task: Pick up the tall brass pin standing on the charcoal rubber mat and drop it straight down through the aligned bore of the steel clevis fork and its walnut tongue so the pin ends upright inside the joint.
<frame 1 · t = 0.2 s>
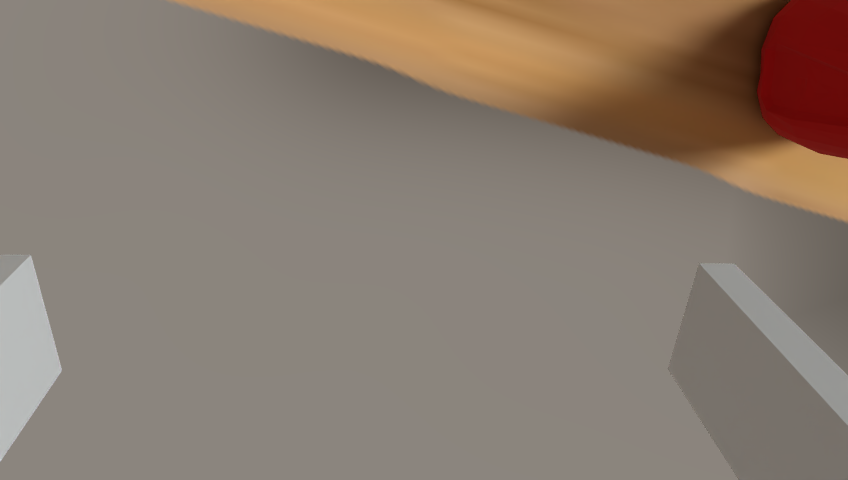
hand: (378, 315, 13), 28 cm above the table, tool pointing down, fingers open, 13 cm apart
water bottle: (835, 54, 40), on the table
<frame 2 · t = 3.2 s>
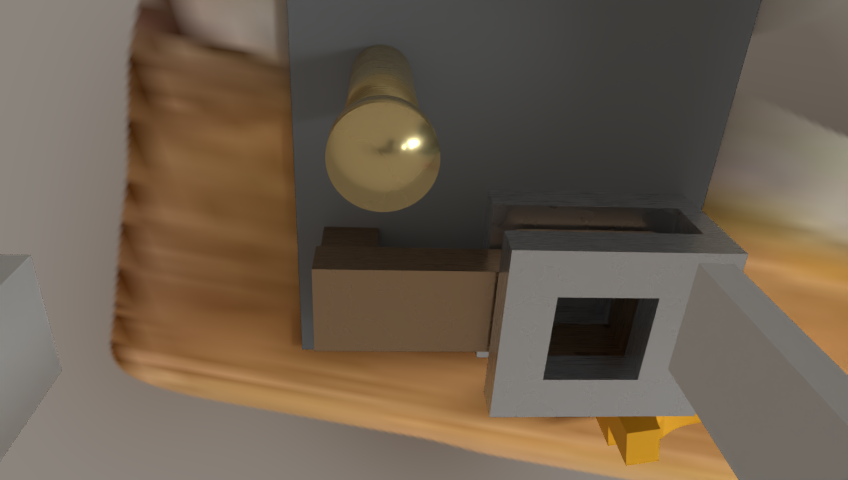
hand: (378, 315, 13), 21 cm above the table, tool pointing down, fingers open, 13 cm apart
pipe clamp: (679, 372, 43), on the table
brass pin: (381, 75, 31), resting on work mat
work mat: (504, 186, 35), on the table
clevis: (562, 269, 37), resting on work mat
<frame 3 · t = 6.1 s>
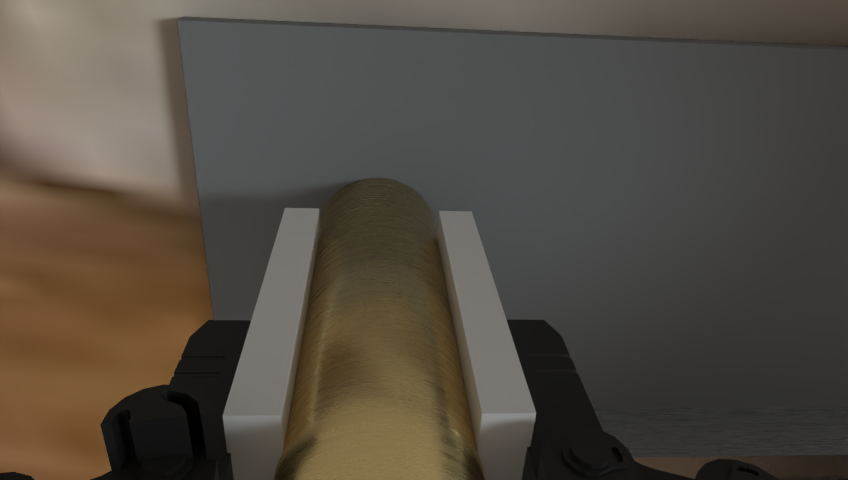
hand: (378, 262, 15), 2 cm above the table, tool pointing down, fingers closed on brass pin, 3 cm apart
brass pin: (377, 232, 16), point 1 cm above the table, touching gripper, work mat
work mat: (598, 397, 20), on the table
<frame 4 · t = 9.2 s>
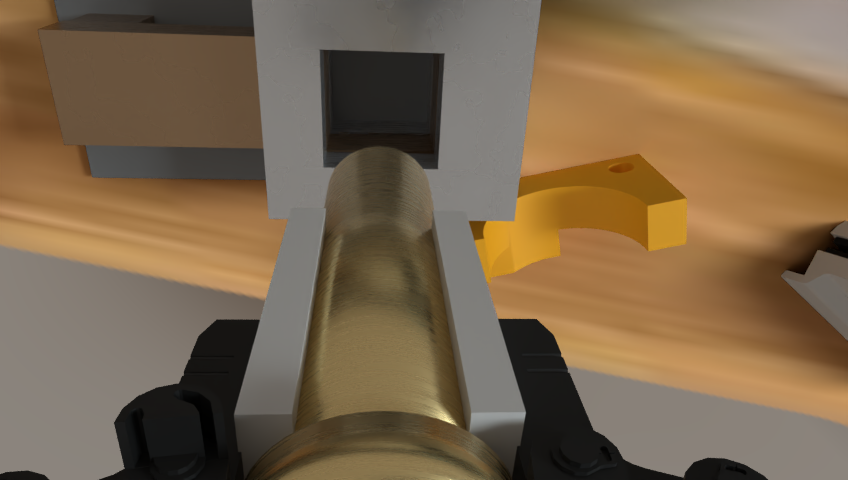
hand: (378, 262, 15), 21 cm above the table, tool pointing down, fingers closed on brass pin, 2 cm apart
pipe clamp: (538, 205, 38), on the table
brass pin: (379, 195, 18), point 16 cm above the table, touching gripper
clevis: (380, 73, 33), resting on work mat
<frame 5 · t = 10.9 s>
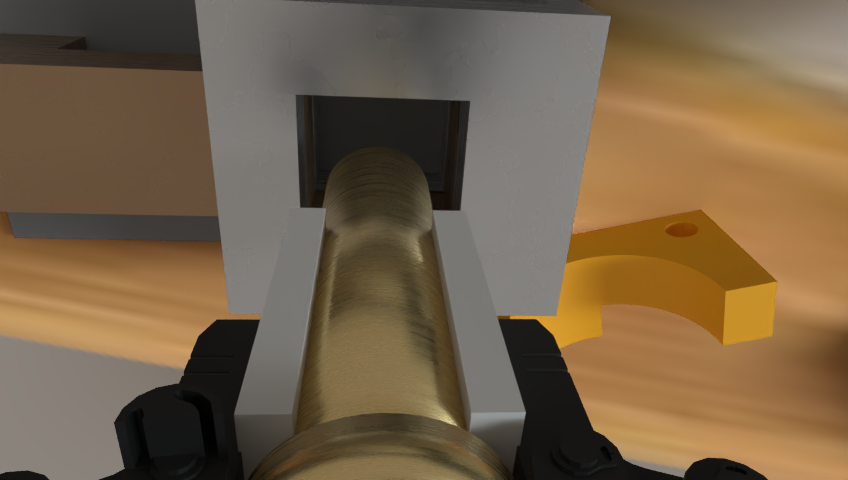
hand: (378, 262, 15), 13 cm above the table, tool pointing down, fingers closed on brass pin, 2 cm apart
pipe clamp: (573, 269, 31), on the table
brass pin: (377, 195, 18), point 9 cm above the table, touching gripper
clevis: (380, 112, 25), resting on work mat
when the fingers open (11 cm above the table, at t = 12.3 s): brass pin drops 6 cm, resting on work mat.
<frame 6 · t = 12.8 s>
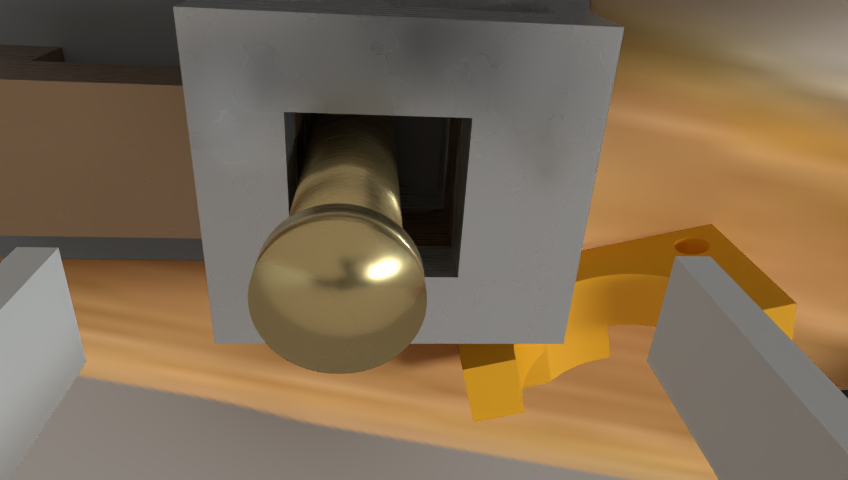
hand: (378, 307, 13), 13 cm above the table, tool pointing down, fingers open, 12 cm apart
pipe clamp: (578, 287, 29), on the table
brass pin: (355, 130, 24), point 1 cm above the table, touching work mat
clevis: (376, 126, 24), resting on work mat
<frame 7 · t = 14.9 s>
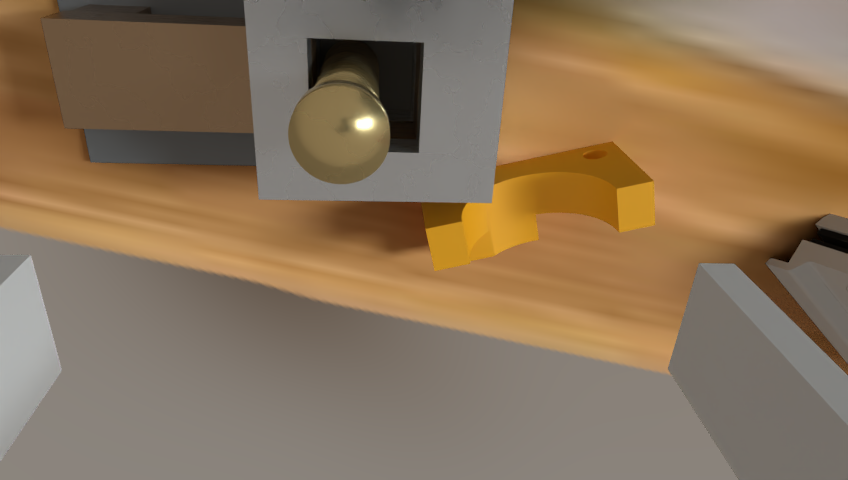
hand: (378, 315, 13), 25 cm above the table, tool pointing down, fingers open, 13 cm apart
pipe clamp: (517, 192, 39), on the table
brass pin: (351, 67, 34), point 1 cm above the table, touching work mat
clevis: (366, 64, 34), resting on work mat
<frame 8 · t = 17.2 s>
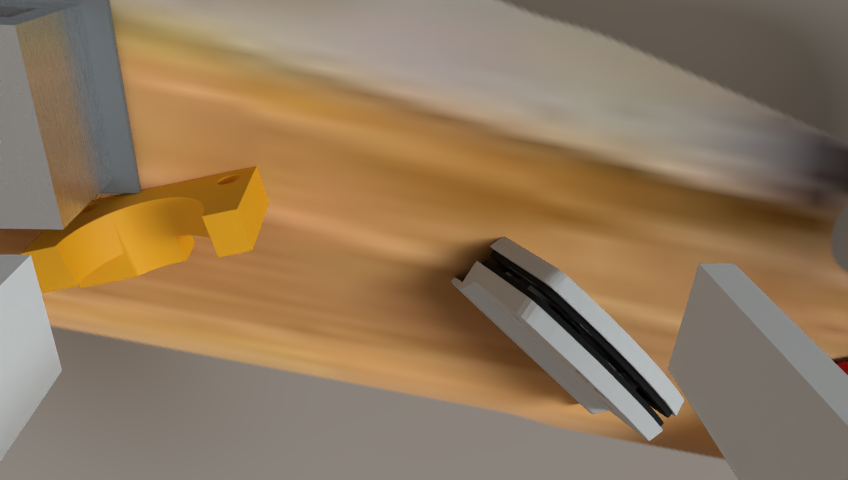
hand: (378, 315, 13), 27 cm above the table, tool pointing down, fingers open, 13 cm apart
pipe clamp: (177, 213, 41), on the table
grey piece: (559, 313, 46), on the table
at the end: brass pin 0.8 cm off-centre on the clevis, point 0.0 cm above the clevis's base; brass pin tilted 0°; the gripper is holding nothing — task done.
